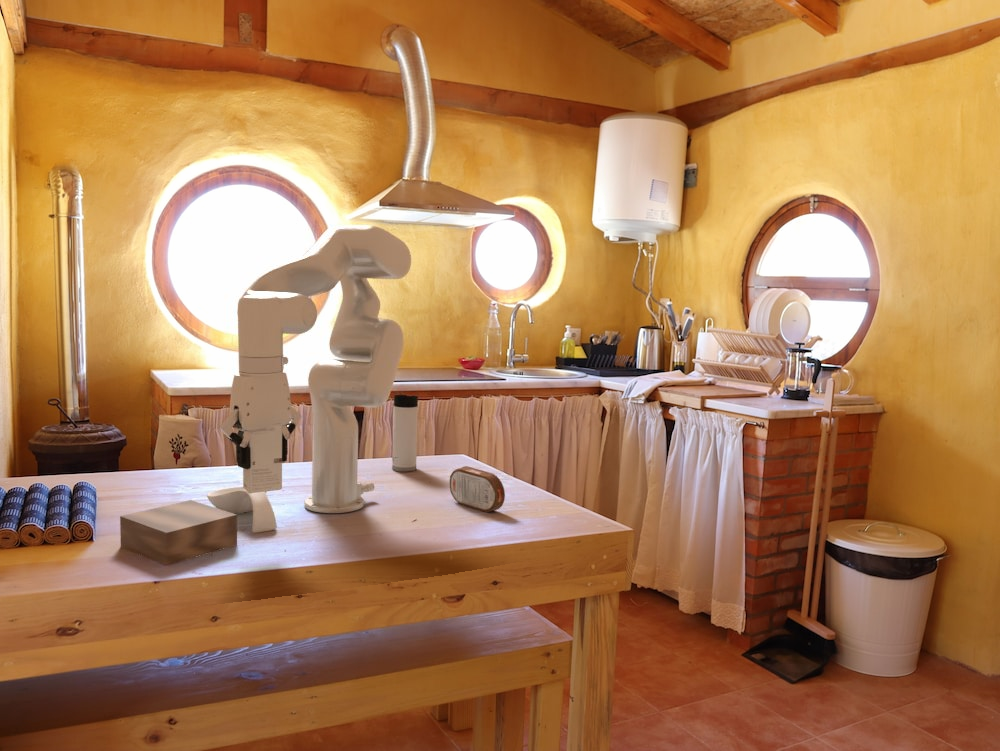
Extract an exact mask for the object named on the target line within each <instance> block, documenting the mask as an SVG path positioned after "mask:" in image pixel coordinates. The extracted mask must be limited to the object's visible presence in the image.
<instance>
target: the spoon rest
mask: <svg viewBox="0 0 1000 751" xmlns="http://www.w3.org/2000/svg"><path fill="white" fill-rule="evenodd" d="M267 492H268V491H266V492H257V493H248V492H247V491H246V490H245V489H244V488H243V486H237V487H235V486H234V487H227V488H221V489H217V490H212V491H210V492H208V493H207V494H206V497H207V500H208V501H209V502H210V504H211V505H213V507H214V508H218V509H221V510H224V511H227V512H230V513H238V514H244V512H246V513H249V512H252V523H251V524H252V525H251V526H252V528H251V531H252V533H253V534H256V533H258V534H259V533H262V532H269V531H274V530H277V526H278V525H277V520H276V516H275V511H274V510H273V507H272V504H271V502H270V499H269V498H268V495H267Z"/></svg>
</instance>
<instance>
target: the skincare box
mask: <svg viewBox="0 0 1000 751" xmlns="http://www.w3.org/2000/svg"><path fill="white" fill-rule="evenodd" d="M247 446H248V447H250V453H251V468H250V469H244V468H242V471H243V472H242V482H243V483H242V487H243V488H244V489H245V490H246V491H247V492H248V493H257V492H266V491H267V492H271V491H272V492H273V491H281V490H282V489H283V461H282V424H276V425H271V426H270V427H269V428H266V429H262V430H259V431H253V432H252V434H251V437H250V439H249V442H248V444H247ZM267 492H266V493H267Z"/></svg>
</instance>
